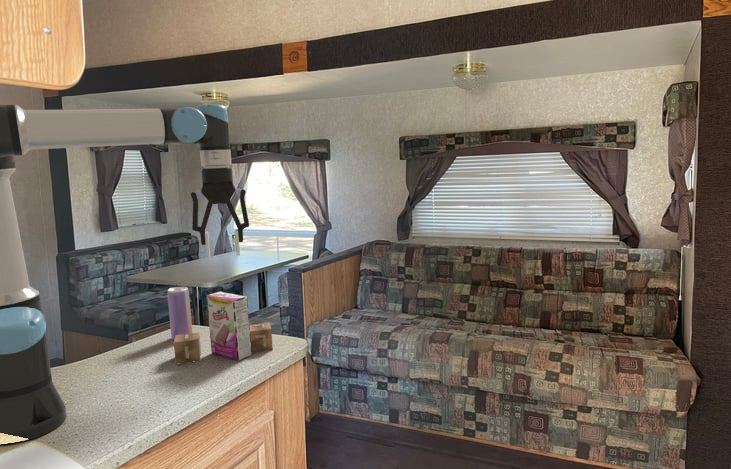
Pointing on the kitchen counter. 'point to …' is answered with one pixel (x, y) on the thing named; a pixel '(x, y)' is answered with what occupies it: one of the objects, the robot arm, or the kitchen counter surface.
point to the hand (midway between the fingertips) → (223, 255)
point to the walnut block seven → (260, 337)
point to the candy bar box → (229, 325)
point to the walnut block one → (187, 348)
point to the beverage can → (179, 311)
